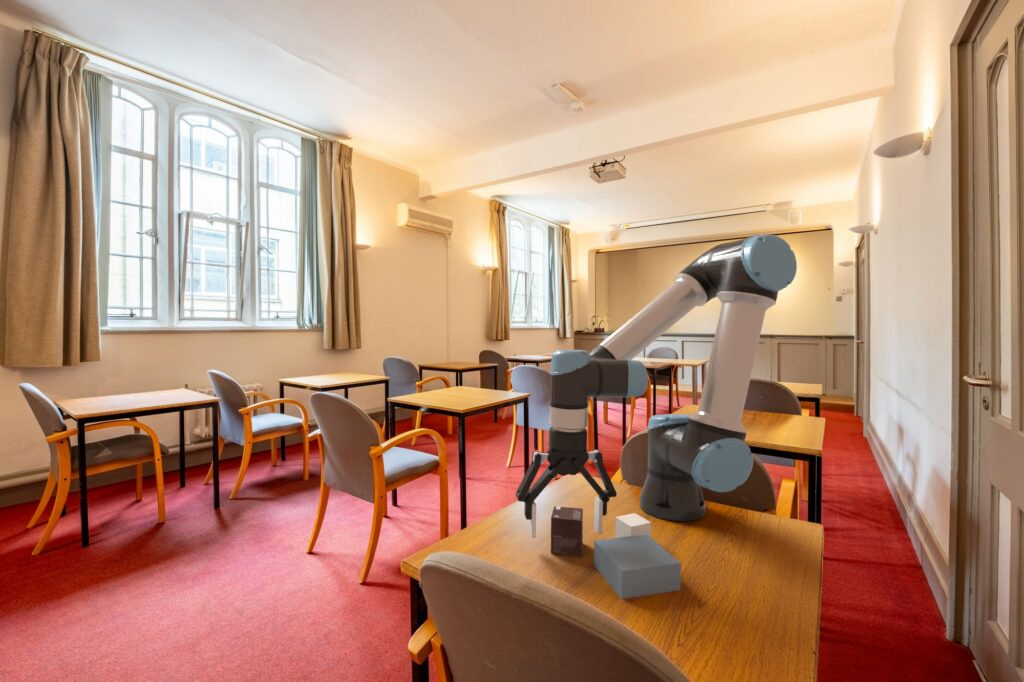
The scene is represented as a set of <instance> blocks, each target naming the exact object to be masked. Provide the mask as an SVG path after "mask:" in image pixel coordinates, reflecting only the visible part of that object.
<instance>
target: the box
mask: <svg viewBox="0 0 1024 682" xmlns="http://www.w3.org/2000/svg"><path fill="white" fill-rule="evenodd" d="M583 513H584V510H583V508H581V507H580V508H579V507H567V506H566V507H565V506H554V507H553V510H552V513H551V516H550V554H552V555H560V556H561V555H564V556H570V557H571V556H572V557H581V556H582V552H583V543H584V542H583V539H584V535H583V531H584V530H583V525H584V524H583V522H584V521H583V519H584V517H583V515H584V514H583Z"/></svg>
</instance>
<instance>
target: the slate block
mask: <svg viewBox="0 0 1024 682" xmlns="http://www.w3.org/2000/svg"><path fill="white" fill-rule="evenodd" d="M593 566H594V568H595V569H596V570H597V572H599V573H600V575H601V576H602V577H603V578H604V579H605V581H606V582H607V583H608V585H609V586H610V587H611V588H612V590H614V592H615V594H617V596H618V597H619V598H620V599H621V600H624V599H631V598H638V597H644V596H649V595H658V594H664V593H669V592H676V591H681V582H682V581H681V580H682V579H681V577H682V576H681V575H682V563H681V562H680V560H678V559H677V558H675V557H674V556H673V555H672V554H671V553H670V552H669V551H668V550H666V548H664V547H663V546H662V545H660V544H659V543H658V542H657V541H656V540H654V539H653V538H652V537H650V536H648V535H647V534H645V535H637V536H628V537H619V538H615V537H611V538H603V539H595V540H593Z"/></svg>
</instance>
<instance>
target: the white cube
mask: <svg viewBox="0 0 1024 682" xmlns="http://www.w3.org/2000/svg"><path fill="white" fill-rule="evenodd" d="M614 521H615V525H614V526H615V527H614V531H615V532H614V538H619V537H628V536H637V535H645V534H647V535H648V536H650V537H651V536H652V533H651V532H652V528H651V527H652V526H651V525H652V521H649V520H648V519H646V518H644V517H643V516H640V515H639V514H637V513H635V512H633V513H629V514H624V515H619V516H618V515H617V516H615V520H614ZM651 538H652V537H651Z"/></svg>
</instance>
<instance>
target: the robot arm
mask: <svg viewBox="0 0 1024 682" xmlns="http://www.w3.org/2000/svg"><path fill="white" fill-rule="evenodd" d="M797 267H798V264H797V258H796V255H795V252H794V251H793V250H792V248H791V245H790V244H789V242H787V241H786V240H785V239H784V238H782V237H780V236H778V235H775V234H769V233H768V234H761V235H758V234H756V235H751V236H748V237H746V238H743V239H738V240H734V241H730V242H725V243H721V244H718V245H715V246H713V247H711V248H710V249H708V250H706V251H704V252H703V253H702V254H700V256H698V257H696V258H695V259H694V260H693V261H691V263H689V264H688V265H687V266H685V267H684V268H683V269H682V270H681V271H679V272H678V273H677V274H676V275H675V276H674V280H673V281H674V282H673V283H672V284H671V285H670V286H668V287H667V288H666V289H665V290H664V291H662V292H661V293H660V294H659V295H657V296H656V297H655V298H654V299H652V301H650V302H649V303H648V304H646V305H645V306H643V308H642V309H641V310H639V311H638V312H637V313H636V314H634V315H633V316H632V317H630V319H628V320H627V321H626V322H625V323H623V324H622V325H621V326H620V327H619V328H618V329H617V330H615V331H614V332H613V333H612V334H610V335H608V337H607V338H605V339H604V340H603V341H602V342H600V343H599V344H598V345H597V346H596V347H594V348H593V349H592V350H590V351H588V350H584V349H563V348H562V349H557V350H556V349H555V351H554V352H552V355H551V360H550V370H549V371H550V372H549V375H550V387H549V389H550V391H549V392H550V399H549V401H550V404H549V423H548V424H549V426H551V427H550V428H549V429H548V432H549V433H548V451H547V452H546V453H545V452H539V451H538V450H534V451H533V452H532V457H531V462H530V464H529V465H528V466H529V467H528V469H527V470H526V472H525V474H524V476H523V478H522V480H521V482H520V484H519V486H518V487H517V490H516V491H515V497H516V499H517V500H518V502H522V503H524V509H523V510H524V512H523V513H524V517H525V519H526V520H527V521H528V533H529V535H530V536H531V538H532V539H535V538H536V534H537V533H536V532H537V528H536V527H537V504H536V502H535V500H536V499H537V498H538V497H539V496H540V494H541V493H542V492H543V491H544V490H545V488H546V487H547V486H548V485H549V484H550V482H551V481H552V480H554V479H556V477H557V476H558V475H560V476H568V475H570V476H576V475H577V474H579V473H580V474H581V476H582V477H583V478H584V480H586V481H587V483H588V484H589V485H590V486H591V488H592V490H594V492H595V493H596V494H597V495H598V496H594V503H593V504H594V507H593V511H594V512H593V530H594V531H596V533H597V534H598V535H602V534H603V517H604V516H606V515H607V513H608V502H610V498H616V497H617V494H618V493H617V491H616V489H615V486H614V485H613V482H612V480H611V478H610V476H609V473H608V471H607V468H606V467H605V464H604V460H603V453H602V452H601V451H599V450H598V449H596V448H593V450H592V451H588V450H587V448H588V430H587V429H586V428H587V427H588V425H589V398H592V399H593V398H626V399H629V398H633V397H636V398H637V397H640V396H643V394H644V393H645V392H646V391H647V388H648V382H649V381H648V377H649V376H648V371H647V367H646V366H645V364H644V363H643V362H642V361H640V360H633V359H635V357H637V356H638V355H640V353H642V352H643V351H644V350H645V349H646V348H648V347H649V346H650V345H651V344H652V343H653V342H655V341H656V340H657V339H658V338H660V337H661V336H662V335H664V333H666V332H667V331H668V330H669V329H670V328H671V327H673V326H674V325H675V324H676V323H678V322H679V321H681V319H683V318H684V317H685V316H686V315H687V314H688V313H689V312H691V311H692V310H693V309H694V308H696V307H703V306H705V305H706V304H707V303H708V302H710V301H712V300H713V299H715V298H716V297H717V298H718V300H719V301H720V303H721V308H720V311H719V315H718V316H719V317H718V321H717V323H716V324H717V325H716V329H715V334H714V336H713V337H714V339H713V343H712V347H711V351H710V356H709V361H708V365H707V369H706V373H705V378H704V383H703V387H702V391H701V395H700V399H699V404H698V408H697V411H696V412H694V413H693V414H685V413H684V414H683V413H682V414H681V413H666V414H665V413H663V414H661V413H660V414H655V415H651V416H650V417H649V419H648V427H647V475H646V477H645V480H644V483H643V486H642V488H641V491H640V493H639V508H640V509H641V510H642V511H644V512H645V513H647V514H648V515H651V516H653V517H656V518H659V519H662V520H667V521H675V522H689V521H691V522H692V521H697V520H700V519H702V518H704V517H705V515H706V502H705V501H706V500H705V499H704V494H703V492H702V489H701V487H702V488H704V489H705V488H706V489H708V490H710V491H712V492H716V493H727V492H731V491H734V490H736V489H737V487H740V486H743V484H744V483H745V482H746V481H747V480H748V478H749V476H750V474H751V472H752V470H753V466H754V456H753V453H752V452H751V448H750V447H749V446H748V444H746V436H747V429H746V428H745V425H743V422H742V417H743V415H744V414H743V413H744V409H745V405H746V400H747V396H748V391H749V387H750V382H751V377H752V375H753V368H754V364H755V361H756V360H755V359H756V356H757V355H756V354H757V350H758V346H759V341H760V337H761V334H762V329H763V324H764V320H765V316H766V315H765V314H766V311H767V310H768V309H771V307H773V306H775V305H776V304H777V301H778V300H777V299H778V295H779V291H782V290H784V289H786V288H788V286H789V285H791V284H792V282H793V281H794V279H795V277H796V275H797V270H798V268H797ZM589 459H590V461H591V462H592V463H593V464H594V467H595V469H596V470H597V473H598V475H599V477H600V479H601V481H602V484H603V486H604V488H605V489H604V490H603V488H602V487H601V485H599V483H598V482H597V481H596V479H595V478H593V476H592V475H591V474H590V473H589V471H588V470H587V468H586V467H585V465H586V463H587V462H588V460H589ZM545 461H547V462H548V463H549V464H548V465H547V466H546V468H545V469H544V471H543V473H542V474H541V475H540V476H539V477H538V479H537V480H536V481H535V483H534V484H533V482H534V480H535V479H536V476H537V474H538V472H539V470H540V468H541V465H543V464H544V463H545ZM532 484H533V485H532Z"/></svg>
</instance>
